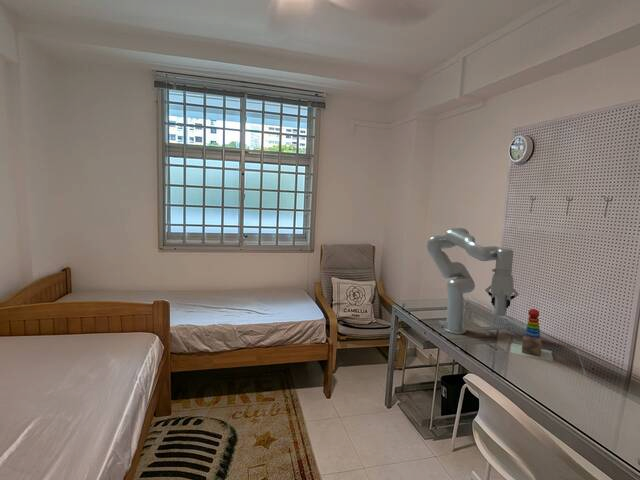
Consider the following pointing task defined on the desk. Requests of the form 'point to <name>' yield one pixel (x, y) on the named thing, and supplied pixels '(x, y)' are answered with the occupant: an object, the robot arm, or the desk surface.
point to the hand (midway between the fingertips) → (500, 305)
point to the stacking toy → (533, 325)
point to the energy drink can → (500, 303)
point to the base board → (544, 355)
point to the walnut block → (531, 346)
